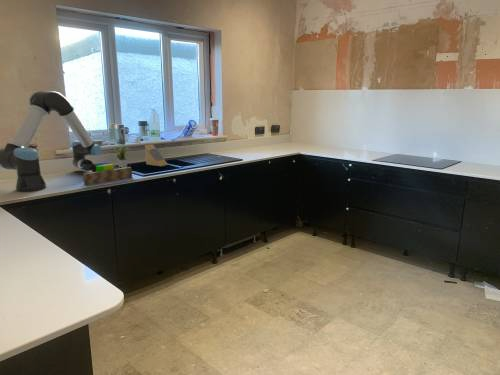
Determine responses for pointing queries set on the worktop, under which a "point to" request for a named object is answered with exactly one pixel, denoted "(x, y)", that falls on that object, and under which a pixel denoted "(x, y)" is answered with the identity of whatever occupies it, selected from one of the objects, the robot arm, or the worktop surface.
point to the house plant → (122, 158)
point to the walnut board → (107, 176)
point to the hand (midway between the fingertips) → (100, 169)
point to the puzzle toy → (102, 167)
